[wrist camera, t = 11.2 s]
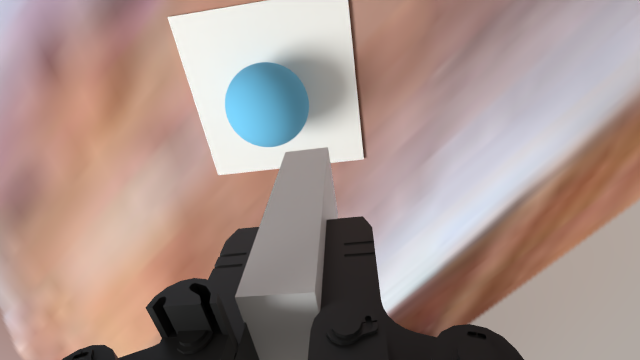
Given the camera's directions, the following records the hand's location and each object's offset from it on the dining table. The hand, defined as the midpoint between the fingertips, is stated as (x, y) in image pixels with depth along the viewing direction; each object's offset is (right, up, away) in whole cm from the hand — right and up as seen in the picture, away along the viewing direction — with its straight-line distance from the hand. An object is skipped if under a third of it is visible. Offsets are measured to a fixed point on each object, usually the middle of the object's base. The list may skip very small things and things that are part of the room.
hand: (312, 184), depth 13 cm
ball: (-3, +5, +11) cm, 12 cm away
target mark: (-3, +7, +13) cm, 15 cm away
